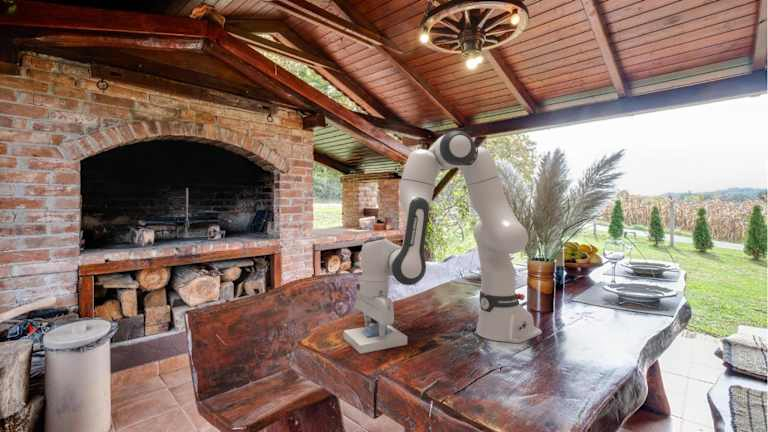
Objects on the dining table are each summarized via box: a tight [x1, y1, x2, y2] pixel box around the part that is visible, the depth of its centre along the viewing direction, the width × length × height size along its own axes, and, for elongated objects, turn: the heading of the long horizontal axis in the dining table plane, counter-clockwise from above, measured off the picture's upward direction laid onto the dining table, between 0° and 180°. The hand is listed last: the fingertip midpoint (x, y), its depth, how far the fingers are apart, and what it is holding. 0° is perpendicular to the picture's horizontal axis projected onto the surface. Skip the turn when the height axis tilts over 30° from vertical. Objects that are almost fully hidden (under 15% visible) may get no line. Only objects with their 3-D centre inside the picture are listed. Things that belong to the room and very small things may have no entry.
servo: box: [362, 323, 391, 338], centre depth 114 cm, size 8×4×6 cm, turn 117°
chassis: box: [343, 325, 408, 355], centre depth 114 cm, size 16×14×3 cm
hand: (374, 330), depth 114 cm, fingers open, 8 cm apart
